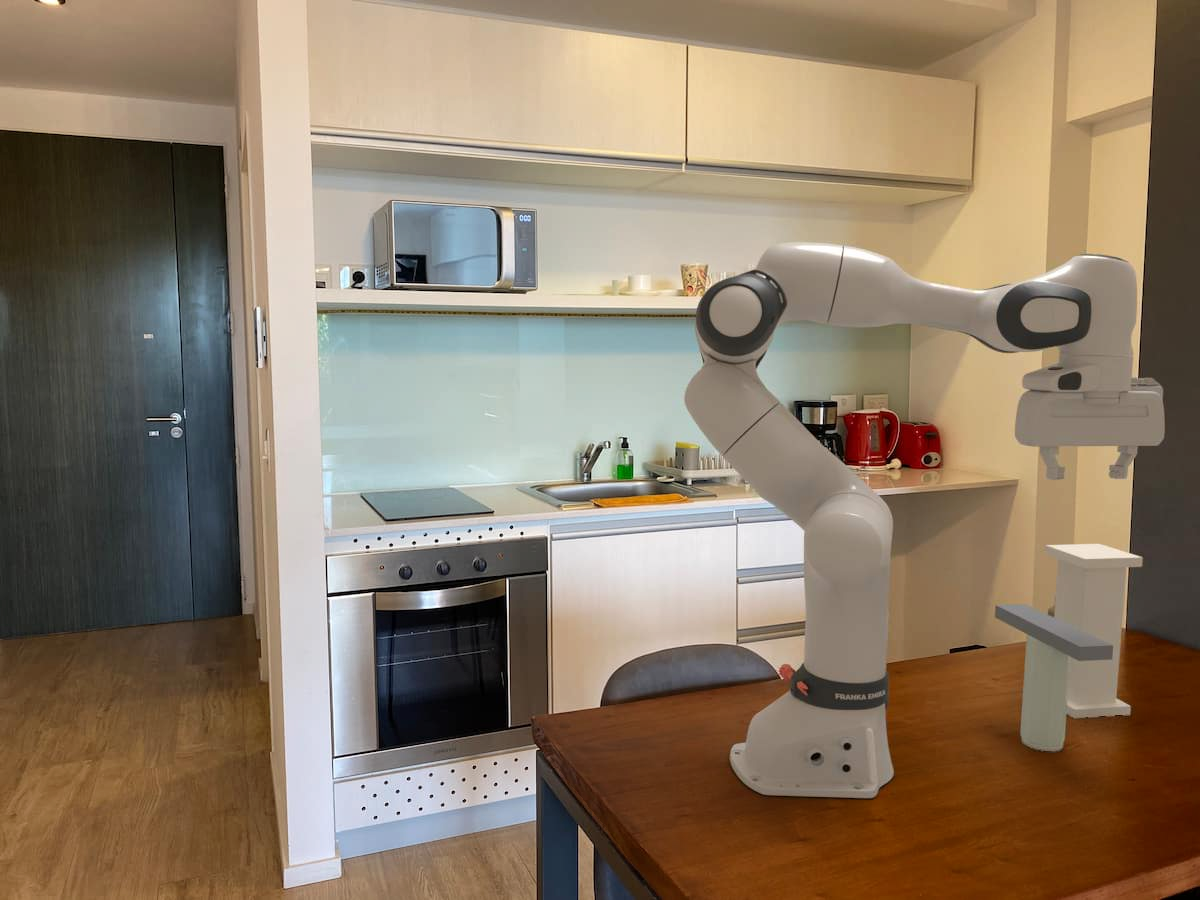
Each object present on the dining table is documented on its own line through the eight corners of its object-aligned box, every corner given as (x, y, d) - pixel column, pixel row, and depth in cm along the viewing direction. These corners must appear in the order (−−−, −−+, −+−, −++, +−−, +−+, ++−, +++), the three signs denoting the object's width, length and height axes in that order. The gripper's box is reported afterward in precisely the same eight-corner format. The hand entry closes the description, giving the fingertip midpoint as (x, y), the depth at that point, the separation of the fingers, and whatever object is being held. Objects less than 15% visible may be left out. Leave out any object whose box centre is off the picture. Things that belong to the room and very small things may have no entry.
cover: (1078, 661, 124) (1079, 646, 124) (994, 617, 144) (995, 605, 144) (1112, 659, 125) (1113, 645, 125) (1024, 616, 145) (1024, 604, 145)
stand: (1073, 718, 146) (1085, 559, 143) (1035, 694, 156) (1045, 545, 153) (1130, 715, 148) (1142, 557, 144) (1088, 691, 157) (1099, 543, 154)
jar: (1036, 753, 133) (1043, 643, 131) (1013, 736, 139) (1019, 631, 137) (1071, 751, 134) (1079, 642, 132) (1047, 734, 140) (1054, 630, 138)
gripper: (1146, 376, 128) (1138, 474, 129) (1011, 376, 125) (1005, 476, 126) (1181, 378, 122) (1172, 481, 123) (1040, 378, 118) (1033, 483, 120)
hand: (1086, 478), depth 125 cm, fingers open, 8 cm apart
